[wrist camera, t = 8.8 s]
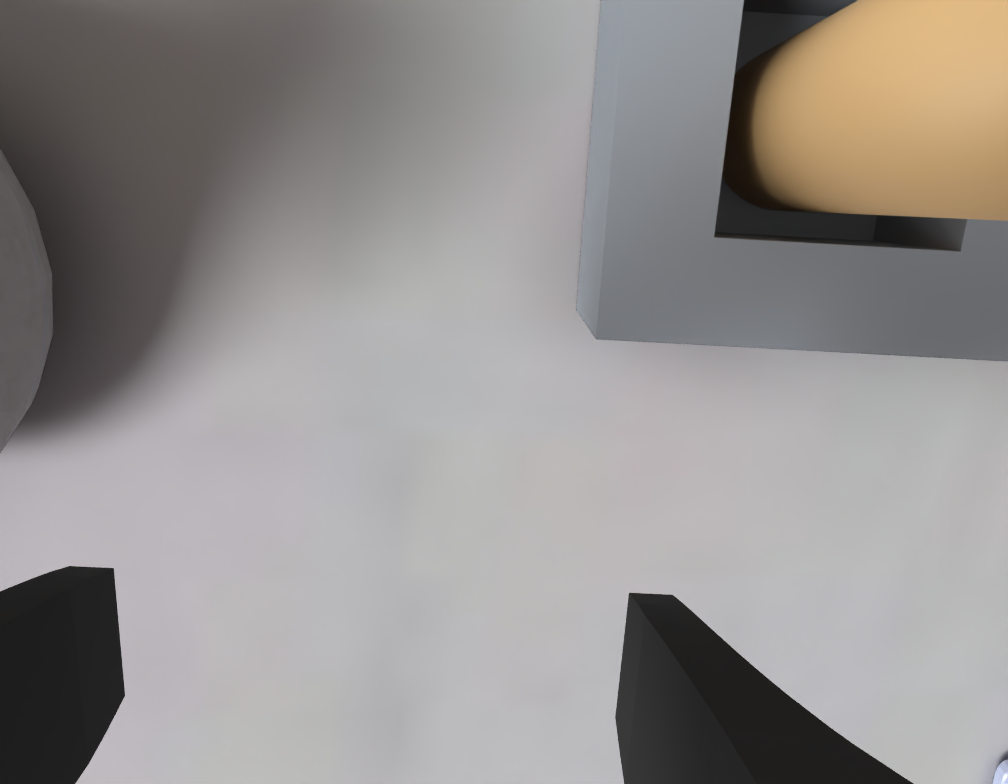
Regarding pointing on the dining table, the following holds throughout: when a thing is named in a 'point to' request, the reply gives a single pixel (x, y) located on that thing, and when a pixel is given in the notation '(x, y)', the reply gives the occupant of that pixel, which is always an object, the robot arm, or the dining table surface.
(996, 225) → the socket block
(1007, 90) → the peg
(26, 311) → the coffee pot
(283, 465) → the dining table surface
